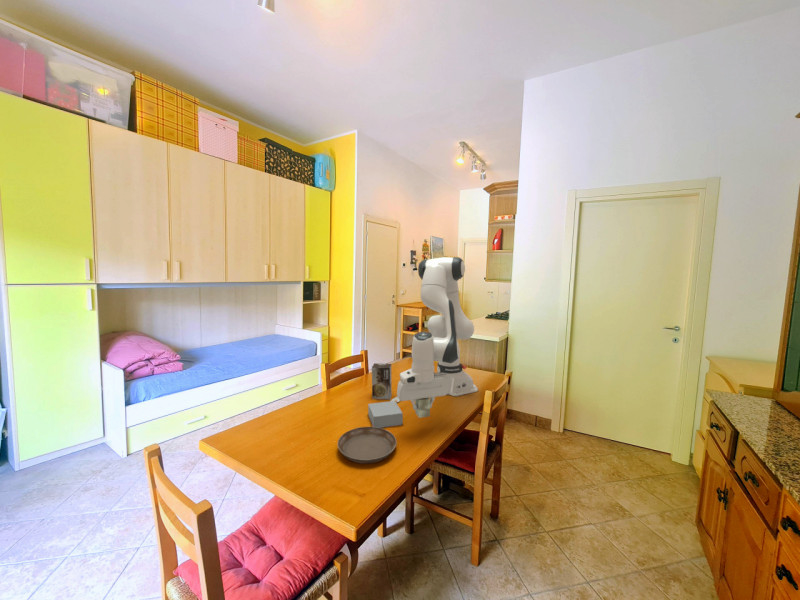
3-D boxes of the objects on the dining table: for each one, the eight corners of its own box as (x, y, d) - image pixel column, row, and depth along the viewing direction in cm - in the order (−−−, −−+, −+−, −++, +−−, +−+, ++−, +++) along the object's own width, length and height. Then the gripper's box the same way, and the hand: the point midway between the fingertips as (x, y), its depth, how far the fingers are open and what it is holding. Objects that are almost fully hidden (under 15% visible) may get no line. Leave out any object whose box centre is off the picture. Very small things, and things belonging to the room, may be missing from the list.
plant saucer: (402, 438, 119) (402, 429, 118) (387, 473, 99) (387, 463, 98) (351, 431, 123) (350, 423, 123) (327, 463, 103) (327, 453, 103)
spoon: (403, 400, 152) (403, 397, 152) (377, 417, 135) (377, 413, 135) (396, 398, 154) (396, 395, 154) (369, 414, 137) (369, 411, 137)
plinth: (394, 411, 139) (394, 400, 139) (402, 424, 128) (402, 413, 127) (368, 414, 136) (368, 403, 136) (373, 428, 125) (373, 416, 124)
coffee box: (391, 394, 158) (392, 363, 156) (390, 400, 151) (390, 367, 150) (374, 393, 159) (374, 362, 157) (371, 399, 152) (371, 367, 151)
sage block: (425, 411, 126) (425, 394, 125) (429, 416, 122) (430, 399, 121) (415, 412, 125) (415, 395, 124) (419, 417, 121) (419, 400, 120)
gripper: (443, 369, 127) (443, 401, 129) (395, 374, 122) (395, 407, 123) (450, 374, 121) (449, 408, 123) (400, 379, 116) (400, 415, 117)
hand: (422, 407), depth 123 cm, fingers closed on sage block, 4 cm apart
